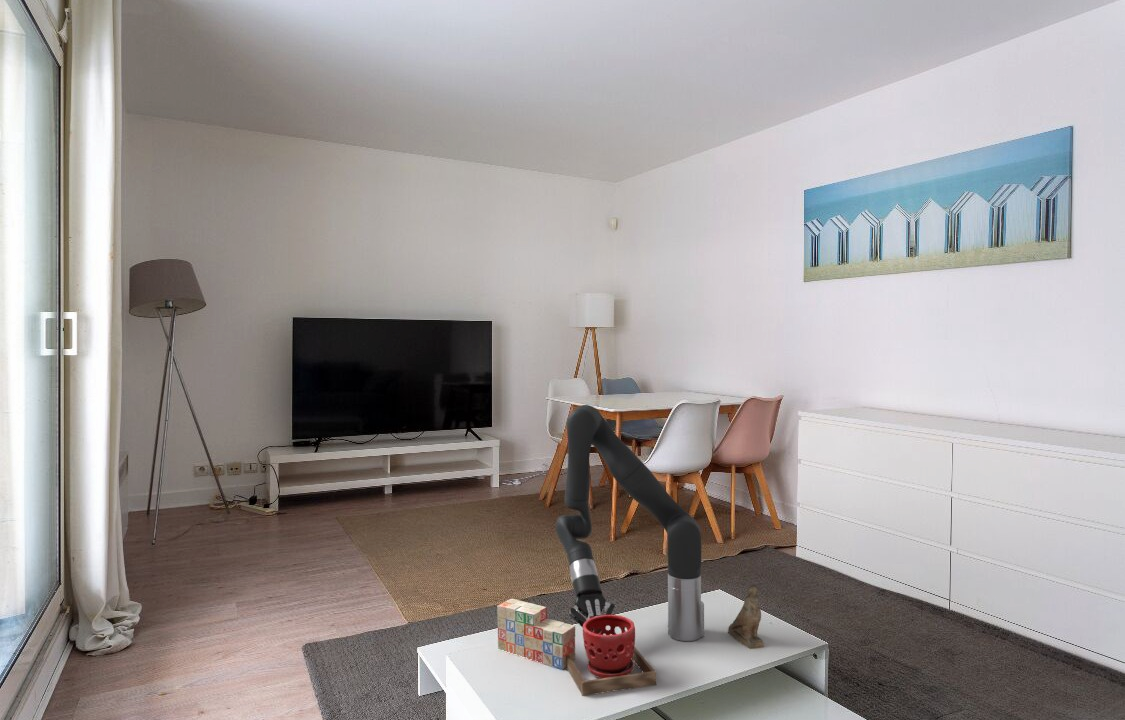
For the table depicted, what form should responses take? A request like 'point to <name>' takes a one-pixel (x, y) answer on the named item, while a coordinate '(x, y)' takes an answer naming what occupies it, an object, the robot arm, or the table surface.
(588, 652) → the plant pot
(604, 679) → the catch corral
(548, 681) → the table surface
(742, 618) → the brown carved statuette
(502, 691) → the table surface
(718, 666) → the table surface
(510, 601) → the stack of blocks
